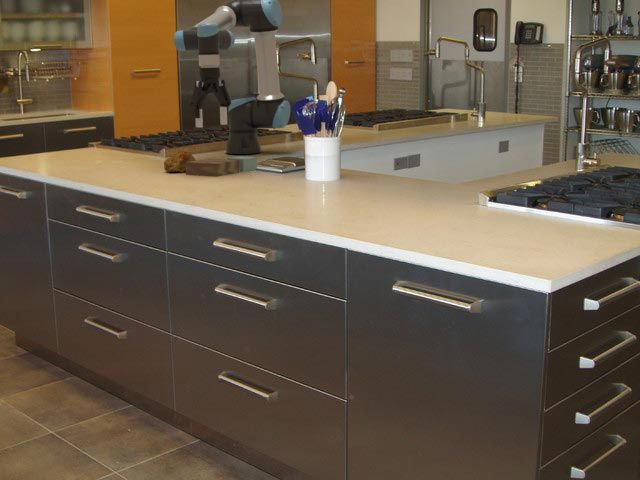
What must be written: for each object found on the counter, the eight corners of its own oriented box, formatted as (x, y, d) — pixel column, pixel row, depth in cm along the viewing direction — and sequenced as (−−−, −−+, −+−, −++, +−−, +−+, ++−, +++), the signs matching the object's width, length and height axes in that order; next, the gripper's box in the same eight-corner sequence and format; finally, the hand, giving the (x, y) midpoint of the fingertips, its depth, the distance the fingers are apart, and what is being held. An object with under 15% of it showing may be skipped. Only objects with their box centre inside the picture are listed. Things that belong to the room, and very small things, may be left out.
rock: (187, 182, 332) (166, 166, 328) (178, 184, 339) (157, 169, 335) (202, 158, 335) (181, 142, 331) (193, 161, 342) (172, 145, 338)
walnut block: (209, 171, 338) (208, 158, 337) (239, 173, 331) (238, 160, 330) (186, 175, 326) (185, 162, 325) (216, 177, 319) (216, 163, 319)
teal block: (240, 169, 345) (240, 156, 344) (257, 170, 340) (256, 157, 339) (227, 171, 338) (227, 158, 337) (243, 172, 334) (243, 159, 333)
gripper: (223, 66, 334) (226, 123, 338) (177, 67, 313) (180, 128, 318) (239, 66, 329) (241, 123, 334) (193, 67, 309) (196, 128, 314)
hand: (211, 126), depth 326 cm, fingers open, 13 cm apart
